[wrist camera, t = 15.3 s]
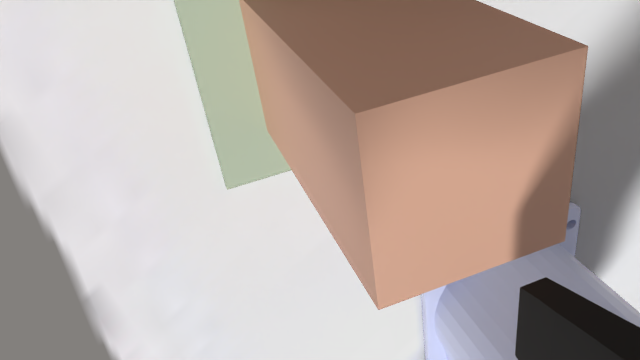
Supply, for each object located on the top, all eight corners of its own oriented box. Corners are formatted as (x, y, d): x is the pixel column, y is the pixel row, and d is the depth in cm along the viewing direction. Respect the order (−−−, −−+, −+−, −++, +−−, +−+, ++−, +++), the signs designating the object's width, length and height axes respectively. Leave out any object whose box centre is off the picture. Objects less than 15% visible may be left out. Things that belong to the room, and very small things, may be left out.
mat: (431, 122, 22) (435, 125, 21) (225, 185, 20) (227, 189, 20) (422, -114, 17) (427, -113, 17) (158, -58, 16) (158, -56, 15)
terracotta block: (390, 95, 20) (564, 240, 13) (267, 130, 19) (378, 310, 12) (379, -39, 18) (588, 46, 10) (237, -6, 17) (354, 113, 9)
